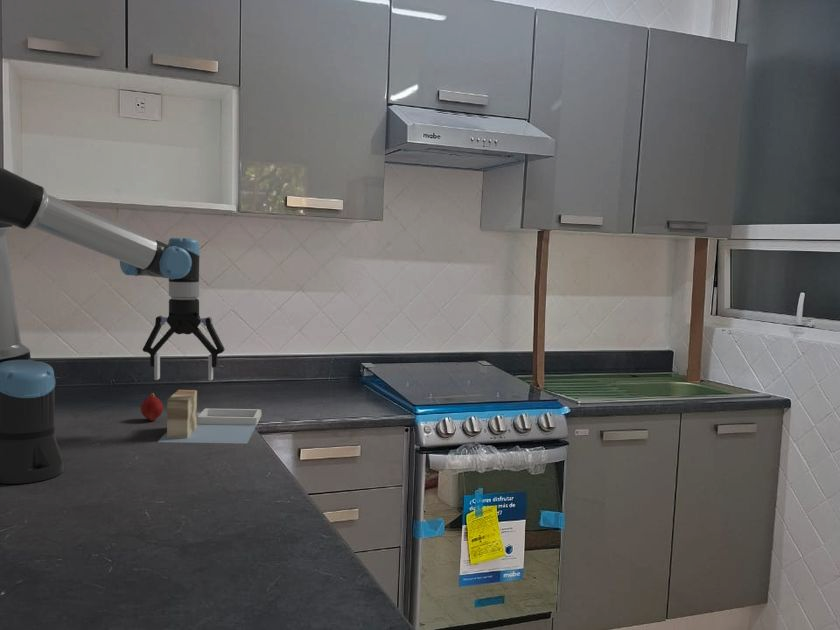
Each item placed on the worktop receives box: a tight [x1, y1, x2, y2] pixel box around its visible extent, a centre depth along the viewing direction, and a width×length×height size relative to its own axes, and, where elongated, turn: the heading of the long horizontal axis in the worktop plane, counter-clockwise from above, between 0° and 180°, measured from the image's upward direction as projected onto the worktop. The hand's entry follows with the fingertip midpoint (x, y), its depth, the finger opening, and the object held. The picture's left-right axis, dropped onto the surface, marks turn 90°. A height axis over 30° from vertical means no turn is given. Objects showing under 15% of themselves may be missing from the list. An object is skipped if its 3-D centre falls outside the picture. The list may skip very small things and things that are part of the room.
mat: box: [157, 411, 263, 445], centre depth 206 cm, size 34×22×1 cm, turn 5°
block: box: [166, 389, 198, 438], centre depth 198 cm, size 12×5×10 cm, turn 5°
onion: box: [140, 392, 164, 422], centre depth 210 cm, size 6×6×8 cm
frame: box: [197, 407, 262, 426], centre depth 214 cm, size 11×16×2 cm
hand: (184, 379), depth 198 cm, fingers open, 13 cm apart
